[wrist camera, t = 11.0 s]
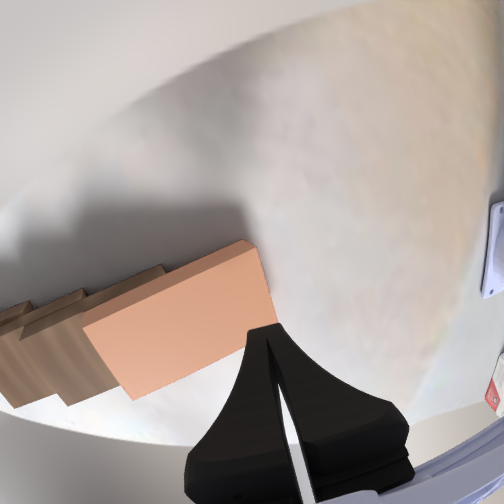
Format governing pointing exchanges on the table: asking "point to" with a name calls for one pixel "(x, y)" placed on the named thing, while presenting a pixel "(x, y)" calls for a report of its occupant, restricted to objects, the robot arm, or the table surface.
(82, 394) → the domino
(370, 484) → the robot arm
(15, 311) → the domino
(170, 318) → the head domino
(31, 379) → the domino
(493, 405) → the ink cartridge box
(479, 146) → the table surface
